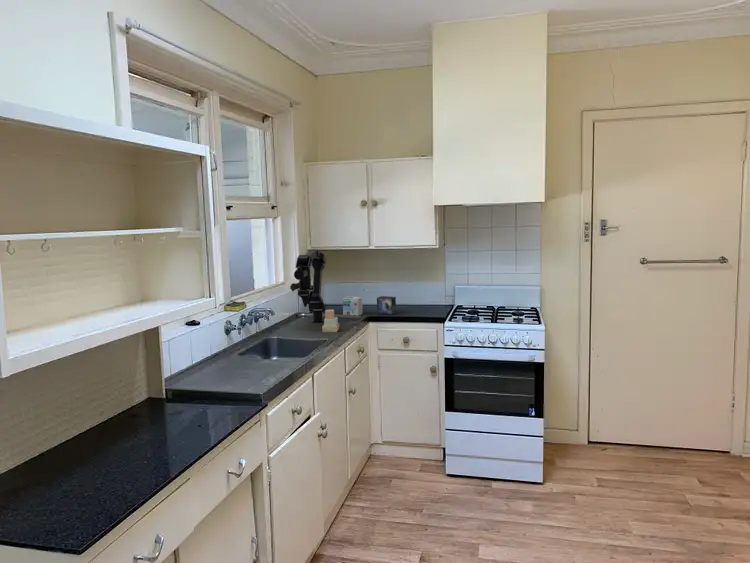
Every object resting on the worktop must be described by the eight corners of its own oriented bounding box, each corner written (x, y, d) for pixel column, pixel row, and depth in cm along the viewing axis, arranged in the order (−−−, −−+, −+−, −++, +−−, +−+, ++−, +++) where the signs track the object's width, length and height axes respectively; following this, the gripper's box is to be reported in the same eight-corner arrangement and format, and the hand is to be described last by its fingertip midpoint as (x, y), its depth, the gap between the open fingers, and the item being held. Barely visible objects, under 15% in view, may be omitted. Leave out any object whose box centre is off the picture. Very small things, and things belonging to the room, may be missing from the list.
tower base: (324, 329, 311) (324, 323, 310) (339, 329, 310) (339, 323, 310) (322, 332, 303) (322, 326, 302) (337, 332, 302) (337, 326, 302)
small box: (376, 314, 349) (376, 297, 348) (381, 312, 355) (380, 295, 353) (391, 315, 344) (391, 298, 343) (396, 313, 350) (396, 296, 348)
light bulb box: (342, 315, 349) (342, 298, 348) (347, 313, 356) (346, 296, 354) (358, 315, 345) (358, 298, 344) (362, 313, 352) (362, 296, 350)
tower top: (326, 323, 310) (325, 317, 309) (337, 323, 309) (337, 317, 309) (324, 326, 303) (324, 319, 303) (336, 325, 303) (336, 319, 302)
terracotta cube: (326, 317, 308) (325, 309, 307) (334, 317, 308) (334, 309, 307) (325, 319, 303) (325, 311, 303) (333, 319, 303) (333, 311, 303)
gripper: (294, 275, 320) (295, 302, 322) (287, 280, 301) (289, 308, 304) (313, 275, 319) (314, 302, 321) (308, 279, 301) (309, 308, 303)
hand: (306, 305), depth 312 cm, fingers open, 9 cm apart
